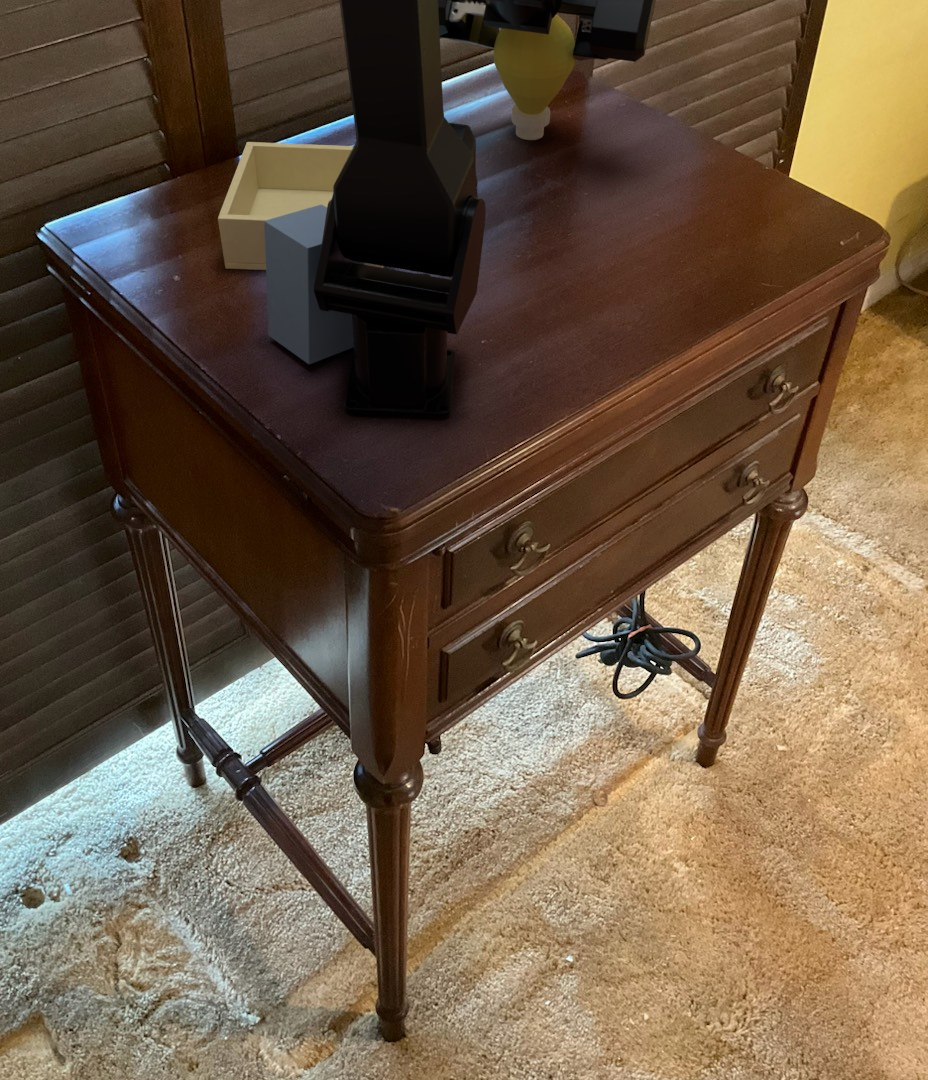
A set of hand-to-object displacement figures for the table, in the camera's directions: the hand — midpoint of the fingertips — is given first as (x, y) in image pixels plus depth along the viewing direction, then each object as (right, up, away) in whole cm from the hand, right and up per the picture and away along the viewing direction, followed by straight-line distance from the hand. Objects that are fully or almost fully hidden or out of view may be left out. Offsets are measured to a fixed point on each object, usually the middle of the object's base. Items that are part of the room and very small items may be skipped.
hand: (538, 48), depth 91 cm
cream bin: (-17, -17, -8) cm, 25 cm away
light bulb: (-1, -6, +4) cm, 7 cm away
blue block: (-16, -27, -18) cm, 36 cm away
